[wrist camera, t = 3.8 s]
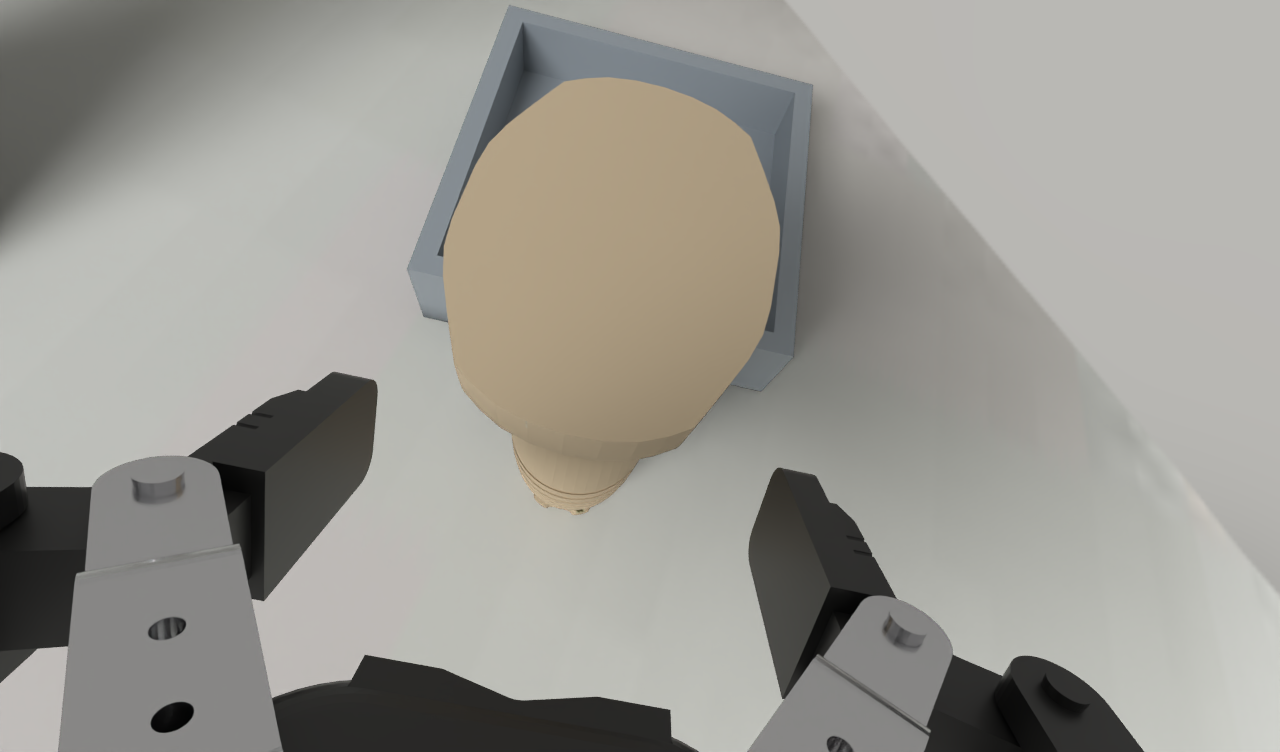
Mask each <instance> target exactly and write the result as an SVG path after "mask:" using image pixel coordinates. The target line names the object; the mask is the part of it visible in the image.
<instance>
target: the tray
mask: <svg viewBox="0 0 1280 752" xmlns="http://www.w3.org/2000/svg"><path fill="white" fill-rule="evenodd" d="M603 77H611V78H619V79H628V80H636V81H640V82H645V83H649V84H653V85H657V86H661V87H665V88H668V89H671V90H674V91H676V92H679V93H682V94H685V95H687V96H690V97H693V98H695V99H697V100H699V101H701V102H703V103H705V104H707V105H709V106H711V107H713V108H715V109H717V110H718V111H719V112H721V113H722V114H724V115H725V116H726V117H728V118H729V119H731V120H732V121H733V122H735V123H736V124H737V125H738V126H739V127H740V128H741V129H743V130H744V131H745V132H746V133H747V134H748V135H749V136H750V137H751V139H752V141H753V144H754V146H755V149H756V152H757V154H758V157H759V160H760V162H761V165H762V167H763V170H764V173H765V176H766V178H767V181H768V184H769V187H770V190H771V193H772V196H773V199H774V201H775V206H776V211H777V215H778V220H779V225H780V244H779V258H778V264H777V271H776V277H775V284H774V290H773V297H772V303H771V309H770V312H769V316H768V319H767V323H766V326H765V330H764V334H763V336H762V338H761V339H760V341H759V343H758V344H757V346H756V348H755V350H754V351H753V353H752V355H751V357H750V358H749V360H748V361H747V363H746V364H745V365H744V367H743V368H742V369H741V370H740V372H739V373H738V374H737V376H736V377H735V378H734V379H733V381H732V382H731V383H730V385H735V386H739V387H744V388H748V389H753V390H758V391H762V390H763V389H764V388H765V387H766V386H767V384H768V383H769V382H770V381H771V380H772V379H773V378H774V377H775V376H776V375H777V374H778V373H779V372H780V371H781V369H782V368H783V367H784V366H785V365H786V364H787V363H788V362H789V361H790V360H791V359H792V358H793V357H794V343H795V329H796V315H797V301H798V287H799V273H800V259H801V245H802V230H803V216H804V202H805V188H806V174H807V160H808V146H809V132H810V118H811V104H812V90H813V85H811V84H808V83H804V82H800V81H796V80H792V79H788V78H785V77H781V76H777V75H773V74H769V73H766V72H762V71H758V70H754V69H750V68H747V67H743V66H739V65H735V64H731V63H728V62H724V61H720V60H716V59H712V58H709V57H705V56H701V55H697V54H693V53H690V52H686V51H682V50H678V49H674V48H671V47H667V46H663V45H659V44H655V43H652V42H648V41H644V40H640V39H636V38H633V37H629V36H625V35H621V34H617V33H614V32H610V31H606V30H602V29H598V28H595V27H591V26H587V25H583V24H579V23H575V22H572V21H568V20H564V19H560V18H556V17H553V16H549V15H545V14H541V13H537V12H534V11H530V10H526V9H522V8H518V7H515V6H511V5H509V7H508V9H507V12H506V14H505V17H504V19H503V22H502V25H501V27H500V30H499V32H498V35H497V38H496V40H495V43H494V45H493V48H492V50H491V53H490V56H489V58H488V61H487V63H486V66H485V69H484V71H483V74H482V76H481V79H480V82H479V84H478V87H477V89H476V92H475V94H474V97H473V100H472V102H471V105H470V107H469V110H468V113H467V115H466V118H465V120H464V123H463V125H462V128H461V131H460V133H459V136H458V138H457V141H456V144H455V146H454V149H453V151H452V154H451V156H450V159H449V162H448V164H447V167H446V169H445V172H444V175H443V177H442V180H441V182H440V185H439V188H438V190H437V193H436V195H435V198H434V200H433V203H432V206H431V208H430V211H429V213H428V216H427V219H426V221H425V224H424V226H423V229H422V231H421V234H420V237H419V239H418V242H417V244H416V247H415V250H414V252H413V255H412V257H411V260H410V262H409V265H408V268H407V271H408V273H409V276H410V279H411V282H412V285H413V288H414V290H415V293H416V296H417V299H418V302H419V305H420V307H421V310H422V313H423V316H424V317H427V318H432V319H436V320H441V321H445V322H448V316H447V308H446V299H445V290H444V281H443V257H444V244H445V240H446V237H447V234H448V230H449V227H450V223H451V220H452V217H453V215H454V212H455V210H456V208H457V206H458V203H459V201H460V199H461V196H462V194H463V192H464V190H465V187H466V185H467V183H468V181H469V178H470V176H471V174H472V171H473V169H474V167H475V165H476V163H477V162H478V160H479V158H480V157H481V155H482V153H483V152H484V150H485V148H486V147H487V145H488V143H489V142H490V141H491V140H492V139H493V138H494V137H495V136H496V135H497V134H498V133H499V132H500V131H501V130H502V129H503V128H504V127H505V126H506V125H507V124H508V123H509V122H511V121H512V120H513V119H515V118H516V117H517V116H518V115H520V114H521V113H522V112H524V111H525V110H526V109H527V108H529V107H530V106H531V105H533V104H534V103H535V102H537V101H538V100H539V99H541V98H542V97H544V96H545V95H546V94H548V93H549V92H550V91H552V90H553V89H555V88H556V87H557V86H559V85H560V84H561V83H563V82H564V81H571V80H577V79H584V78H603Z"/></svg>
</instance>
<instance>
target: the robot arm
mask: <svg viewBox="0 0 1280 752" xmlns="http://www.w3.org/2000/svg"><path fill="white" fill-rule="evenodd" d="M377 393H378V391H377V384H376V382H375V381H374V380H371V379H366V378H362V377H357V376H352V375H348V374H343V373H338V372H332V373H330V374H329V375H328V376H326V377H325V378H324V379H322V380H321V381H320V382H318V383H317V384H316V385H314V386H313V387H312V388H310V389H309V390H308V391H301V390H296V391H293V392H290V393H287V394H284V395H281V396H278V397H274V398H271V399H270V400H268V401H267V402H265V403H264V404H263V405H261V406H260V407H258V408H257V409H255V410H254V411H253V412H252V415H251V414H248V415H247V416H245V417H244V418H242V419H241V420H240V421H238V422H237V425H232V426H231V427H230V428H228V429H227V430H225V431H224V432H222V433H221V434H219V435H218V436H217V437H215V438H214V439H212V440H211V441H209V442H208V443H206V444H205V445H204V446H202V447H201V448H199V449H198V450H196V451H195V452H194V453H192V454H191V455H189V456H188V457H186V456H157V457H150V458H144V459H139V460H135V461H132V462H128V463H125V464H122V465H120V466H117V467H115V468H113V469H111V470H109V471H107V472H106V473H104V474H103V475H102V476H100V477H99V478H98V479H97V480H96V482H95V483H94V484H93V487H26V482H25V476H24V469H23V465H22V463H21V462H20V461H19V460H18V459H17V458H15V457H14V456H11V455H8V454H6V453H1V452H0V683H1V682H2V681H3V680H4V679H5V678H6V677H7V676H8V675H9V674H11V673H12V672H13V671H14V670H15V669H16V668H17V667H18V666H19V665H20V664H21V663H23V662H24V661H25V660H26V659H27V658H28V657H29V656H30V655H31V654H32V653H33V652H34V651H35V650H36V649H37V648H51V647H64V646H68V655H67V665H66V676H65V686H64V696H63V707H62V717H61V727H60V737H59V748H58V752H698V751H697V750H695V749H694V748H692V747H690V746H688V745H687V744H685V743H683V742H681V741H679V740H677V739H675V738H673V737H671V716H670V710H668V709H662V708H657V707H651V706H645V705H640V704H634V703H629V702H623V701H618V700H612V699H607V698H601V697H585V698H565V699H546V700H527V701H521V700H514V699H511V698H508V697H506V696H504V695H501V694H499V693H497V692H494V691H492V690H490V689H487V688H485V687H483V686H481V685H478V684H476V683H474V682H471V681H469V680H467V679H464V678H462V677H460V676H458V675H455V674H453V673H451V672H448V671H446V670H444V669H440V668H435V667H429V666H424V665H418V664H413V663H407V662H401V661H396V660H390V659H385V658H379V657H374V656H368V655H365V656H364V658H363V660H362V662H361V663H360V665H359V667H358V669H357V671H356V673H355V674H354V676H353V678H352V680H349V681H336V682H330V683H323V684H317V685H313V686H309V687H305V688H301V689H297V690H294V691H291V692H288V693H285V694H282V695H279V696H276V697H274V698H272V697H271V692H270V687H269V682H268V677H267V672H266V667H265V663H264V658H263V653H262V648H261V643H260V638H259V633H258V628H257V624H256V619H255V614H254V609H253V604H252V599H256V600H261V601H264V600H265V599H266V598H267V597H268V595H269V594H270V593H271V592H272V591H273V589H274V588H275V587H276V586H277V585H278V583H279V582H280V581H281V580H282V579H283V577H284V576H285V575H286V574H287V572H288V571H289V570H290V569H291V568H292V566H293V565H294V564H295V563H296V562H297V560H298V559H299V558H300V557H301V555H302V554H303V553H304V552H305V551H306V549H307V548H308V547H309V546H310V545H311V543H312V542H313V541H314V540H315V539H316V537H317V536H318V535H319V534H320V532H321V531H322V530H323V529H324V528H325V526H326V525H327V524H328V523H329V522H330V520H331V519H332V518H333V517H334V516H335V514H336V513H337V512H338V511H339V509H340V508H341V507H342V506H343V505H344V503H345V502H346V501H347V500H348V499H349V497H350V496H351V495H352V494H353V492H354V491H355V490H356V489H357V488H358V486H359V485H360V484H361V483H362V481H363V479H364V478H365V476H366V474H367V471H368V469H369V466H370V462H371V458H372V453H373V442H374V430H375V418H376V406H377ZM749 564H750V568H751V572H752V576H753V580H754V584H755V588H756V592H757V597H758V601H759V605H760V609H761V613H762V617H763V621H764V625H765V630H766V634H767V638H768V642H769V646H770V650H771V654H772V658H773V663H774V667H775V671H776V675H777V679H778V683H779V687H780V691H781V696H782V699H784V701H783V702H782V704H781V705H780V706H779V708H778V709H777V711H776V712H775V713H774V715H773V716H772V718H771V719H770V720H769V722H768V723H767V725H766V726H765V727H764V729H763V730H762V732H761V733H760V734H759V736H758V737H757V739H756V740H755V741H754V743H753V744H752V746H751V747H750V749H749V750H748V751H747V752H1144V751H1143V750H1142V748H1141V747H1140V746H1139V744H1138V743H1137V742H1136V740H1135V739H1134V738H1133V736H1132V735H1131V734H1130V733H1129V731H1128V730H1127V729H1126V727H1125V726H1124V725H1123V723H1122V722H1121V721H1120V719H1119V718H1118V717H1117V715H1116V714H1115V713H1114V711H1113V710H1112V709H1111V708H1110V706H1109V705H1108V704H1107V703H1106V701H1105V700H1104V699H1103V698H1102V697H1101V696H1100V695H1099V694H1098V693H1097V692H1096V691H1095V690H1094V689H1093V688H1091V687H1090V686H1089V685H1088V684H1087V683H1085V682H1084V681H1083V680H1081V679H1080V678H1079V677H1077V676H1076V675H1074V674H1073V673H1071V672H1069V671H1068V670H1066V669H1064V668H1062V667H1060V666H1058V665H1056V664H1054V663H1052V662H1050V661H1047V660H1044V659H1041V658H1038V657H1033V656H1019V657H1016V658H1015V659H1013V661H1012V662H1011V663H1010V665H1009V667H1008V668H1007V670H1006V672H1005V673H1004V675H1003V676H1001V675H998V674H996V673H994V672H991V671H989V670H987V669H984V668H982V667H980V666H977V665H975V664H972V663H970V662H968V661H965V660H963V659H961V658H959V657H956V656H954V655H953V649H952V645H951V642H950V640H949V638H948V637H947V635H946V634H945V632H944V631H943V630H942V628H941V627H940V626H939V625H938V624H937V623H936V622H935V621H934V620H932V619H931V618H930V617H929V616H928V615H926V614H925V613H924V612H922V611H920V610H919V609H917V608H916V607H914V606H912V605H910V604H908V603H906V602H904V601H901V600H898V599H897V598H896V597H895V595H894V593H893V591H892V589H891V587H890V585H889V584H888V582H887V580H886V578H885V576H884V574H883V573H882V571H881V569H880V567H879V565H878V563H877V562H876V560H875V558H874V557H872V552H871V550H870V549H869V547H868V545H867V543H866V542H864V538H863V536H862V534H861V532H860V530H859V528H858V527H857V525H856V523H855V521H854V520H853V519H852V518H851V517H850V516H848V515H847V514H846V513H845V512H844V511H843V510H842V509H841V508H840V507H839V506H838V505H837V504H833V503H829V501H828V499H827V497H826V495H825V493H824V491H823V489H822V487H821V485H820V483H819V481H818V479H817V477H816V476H815V475H812V474H807V473H802V472H797V471H793V470H788V469H783V468H777V469H776V470H775V471H774V473H773V475H772V477H771V479H770V482H769V485H768V488H767V490H766V493H765V496H764V499H763V501H762V504H761V507H760V510H759V513H758V515H757V518H756V521H755V524H754V527H753V529H752V533H751V537H750V542H749Z"/></svg>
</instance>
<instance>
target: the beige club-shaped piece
mask: <svg viewBox="0 0 1280 752" xmlns="http://www.w3.org/2000/svg"><path fill="white" fill-rule="evenodd" d="M779 244H780V225H779V220H778V215H777V211H776V206H775V201H774V199H773V196H772V193H771V190H770V187H769V184H768V181H767V178H766V176H765V173H764V170H763V167H762V165H761V162H760V160H759V157H758V154H757V152H756V149H755V146H754V144H753V141H752V139H751V137H750V136H749V135H748V134H747V133H746V132H745V131H744V130H743V129H741V128H740V127H739V126H738V125H737V124H736V123H735V122H733V121H732V120H731V119H729V118H728V117H726V116H725V115H724V114H722V113H721V112H719V111H718V110H717V109H715V108H713V107H711V106H709V105H707V104H705V103H703V102H701V101H699V100H697V99H695V98H693V97H690V96H687V95H685V94H682V93H679V92H676V91H674V90H671V89H668V88H665V87H661V86H657V85H653V84H649V83H645V82H640V81H636V80H628V79H619V78H611V77H603V78H584V79H577V80H571V81H564V82H563V83H561V84H560V85H559V86H557V87H556V88H555V89H553V90H552V91H550V92H549V93H548V94H546V95H545V96H544V97H542V98H541V99H539V100H538V101H537V102H535V103H534V104H533V105H531V106H530V107H529V108H527V109H526V110H525V111H524V112H522V113H521V114H520V115H518V116H517V117H516V118H515V119H513V120H512V121H511V122H509V123H508V124H507V125H506V126H505V127H504V128H503V129H502V130H501V131H500V132H499V133H498V134H497V135H496V136H495V137H494V138H493V139H492V140H491V141H490V142H489V143H488V145H487V147H486V148H485V150H484V152H483V153H482V155H481V157H480V158H479V160H478V162H477V163H476V165H475V167H474V169H473V171H472V174H471V176H470V178H469V181H468V183H467V185H466V187H465V190H464V192H463V194H462V196H461V199H460V201H459V203H458V206H457V208H456V210H455V212H454V215H453V217H452V220H451V223H450V227H449V230H448V234H447V237H446V240H445V244H444V257H443V281H444V290H445V299H446V308H447V316H448V324H449V331H450V338H451V345H452V352H453V359H454V365H455V368H456V371H457V375H458V378H459V381H460V384H461V387H462V389H463V390H464V392H465V393H466V394H467V395H468V397H469V398H470V399H471V400H472V401H473V402H474V403H475V405H476V406H477V407H478V408H479V409H480V410H481V411H482V412H483V413H484V414H485V415H486V416H488V417H489V418H490V419H491V420H492V421H493V422H495V423H496V424H497V425H498V426H499V427H500V428H502V429H504V430H506V431H508V432H509V433H511V434H512V441H513V448H514V453H515V457H516V461H517V464H518V467H519V470H520V472H521V474H522V477H523V479H524V481H525V482H526V484H527V485H528V487H529V488H530V490H531V491H532V492H533V493H534V498H535V500H536V501H537V502H538V503H539V504H540V505H542V506H543V507H545V508H548V507H556V508H559V509H564V510H568V511H569V512H571V514H573V515H579V514H583V513H586V512H587V511H588V510H589V509H590V507H593V506H595V505H597V504H599V503H601V502H602V501H604V500H605V499H607V498H608V497H609V496H611V495H612V494H613V493H614V492H615V491H616V490H617V489H618V488H619V487H620V486H621V485H622V484H623V483H624V481H625V480H626V479H627V477H628V476H629V474H630V473H631V472H632V470H633V469H634V467H635V465H636V464H637V462H638V461H639V459H641V458H646V457H651V456H655V455H658V454H661V453H664V452H667V451H670V450H673V449H676V448H677V447H679V446H680V445H681V444H682V442H683V441H684V440H685V439H686V438H687V437H688V435H689V434H690V433H691V432H692V431H693V429H694V428H695V427H696V426H697V424H698V423H699V422H700V421H701V420H702V418H703V417H704V416H705V415H706V414H707V412H708V411H709V410H710V409H711V407H712V406H713V405H714V404H715V402H716V401H717V400H718V399H719V397H720V396H721V395H722V394H723V392H724V391H725V390H726V389H727V387H728V386H729V385H730V383H731V382H732V381H733V379H734V378H735V377H736V376H737V374H738V373H739V372H740V370H741V369H742V368H743V367H744V365H745V364H746V363H747V361H748V360H749V358H750V357H751V355H752V353H753V351H754V350H755V348H756V346H757V344H758V343H759V341H760V339H761V338H762V336H763V334H764V330H765V326H766V323H767V319H768V316H769V312H770V309H771V303H772V297H773V290H774V284H775V277H776V271H777V264H778V258H779Z"/></svg>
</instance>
